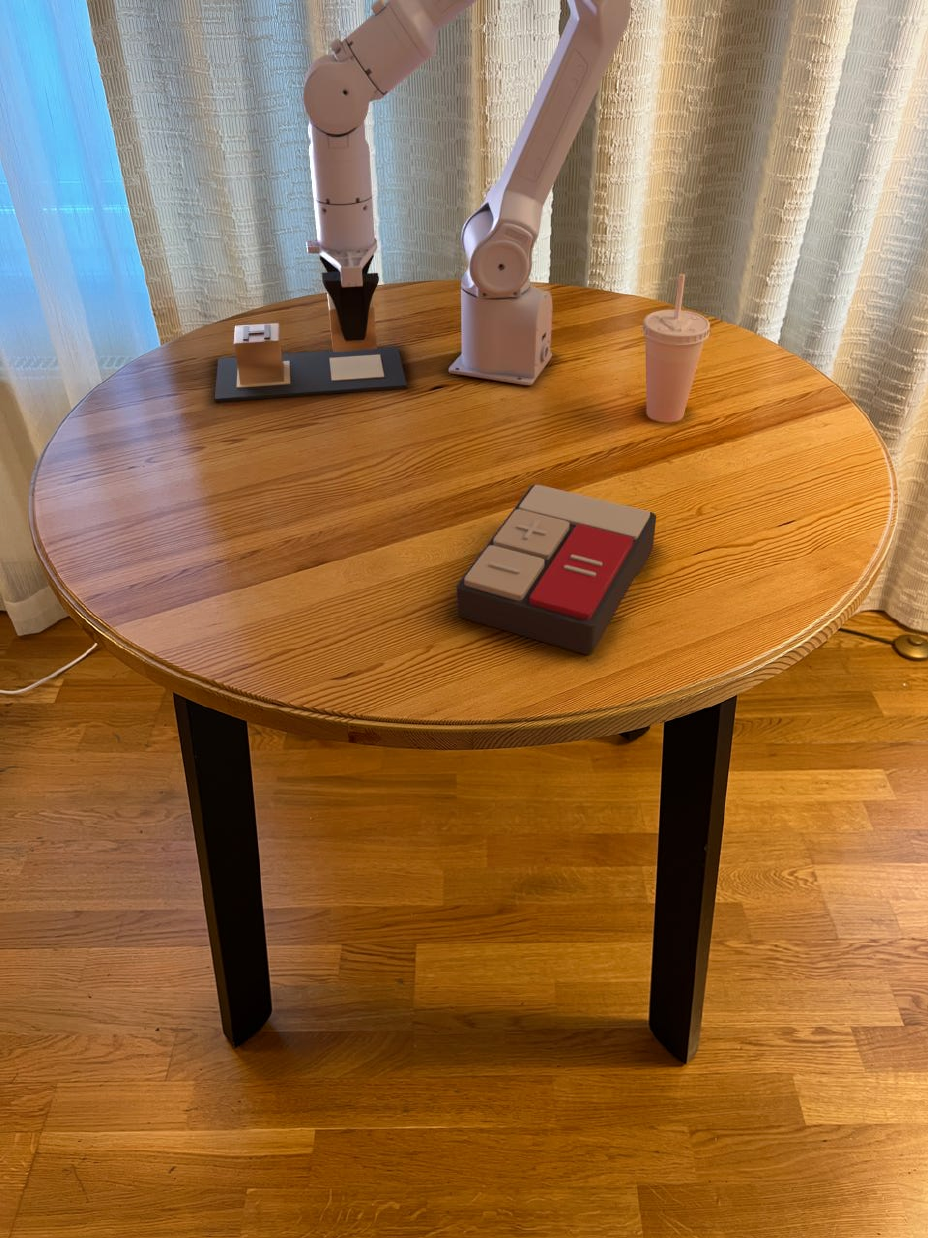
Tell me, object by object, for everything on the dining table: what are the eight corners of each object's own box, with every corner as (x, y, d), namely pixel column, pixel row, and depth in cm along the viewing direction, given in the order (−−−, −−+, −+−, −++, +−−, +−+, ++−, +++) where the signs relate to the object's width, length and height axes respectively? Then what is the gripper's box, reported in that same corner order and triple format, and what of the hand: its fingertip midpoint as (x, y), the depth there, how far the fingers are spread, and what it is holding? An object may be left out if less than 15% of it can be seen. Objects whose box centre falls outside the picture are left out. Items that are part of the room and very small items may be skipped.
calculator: (453, 579, 75) (532, 475, 85) (455, 622, 78) (531, 516, 88) (593, 619, 72) (659, 505, 82) (590, 663, 75) (654, 547, 85)
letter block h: (283, 362, 112) (278, 321, 109) (284, 381, 108) (278, 339, 105) (241, 365, 111) (234, 324, 108) (240, 384, 108) (233, 342, 105)
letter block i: (373, 331, 111) (370, 288, 108) (376, 349, 108) (374, 305, 105) (331, 334, 111) (327, 291, 108) (333, 352, 107) (329, 308, 104)
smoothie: (694, 400, 105) (714, 265, 97) (699, 430, 100) (721, 290, 92) (632, 398, 106) (646, 263, 97) (633, 427, 101) (649, 288, 92)
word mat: (397, 348, 116) (397, 344, 115) (407, 388, 108) (406, 383, 108) (218, 361, 113) (218, 357, 113) (215, 402, 106) (214, 398, 105)
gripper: (300, 176, 105) (312, 304, 113) (303, 221, 94) (317, 360, 102) (368, 173, 106) (376, 301, 114) (380, 217, 94) (388, 355, 103)
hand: (353, 329), depth 108 cm, fingers closed on letter block i, 4 cm apart
